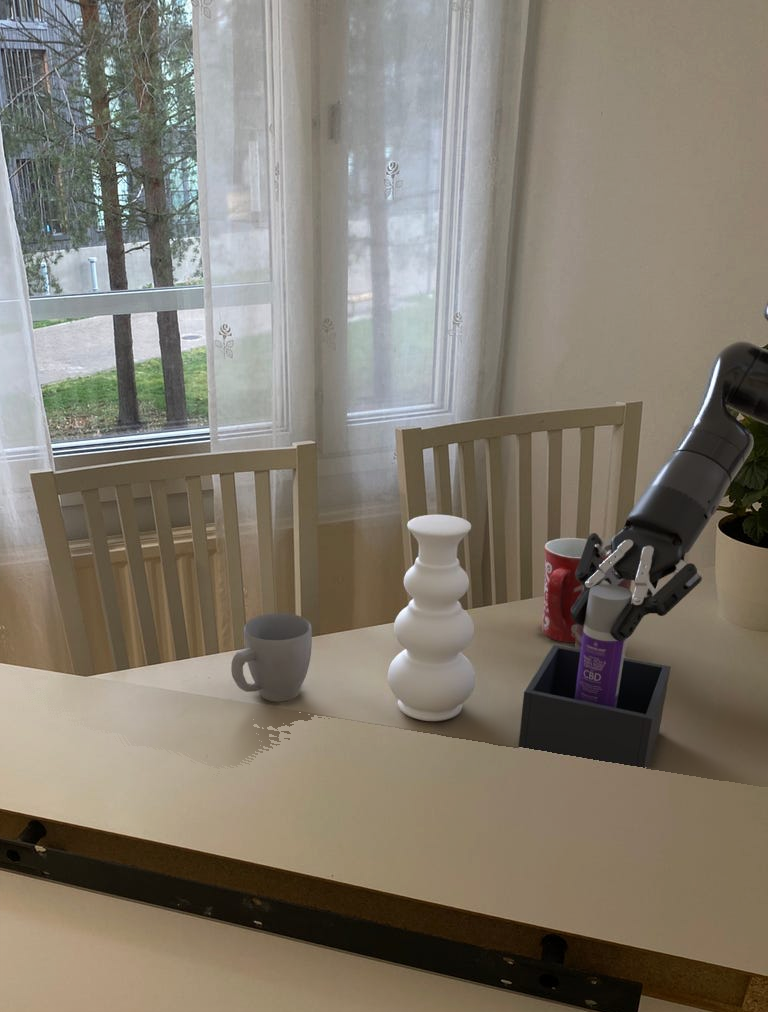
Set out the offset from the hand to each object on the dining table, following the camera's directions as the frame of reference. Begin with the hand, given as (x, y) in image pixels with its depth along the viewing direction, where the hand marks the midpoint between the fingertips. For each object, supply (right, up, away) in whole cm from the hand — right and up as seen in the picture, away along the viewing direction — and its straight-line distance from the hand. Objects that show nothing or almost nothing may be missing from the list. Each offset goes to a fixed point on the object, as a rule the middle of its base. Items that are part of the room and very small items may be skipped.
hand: (596, 628), depth 100 cm
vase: (-16, -10, +16) cm, 25 cm away
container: (+2, -10, +6) cm, 11 cm away
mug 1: (-36, -9, +20) cm, 43 cm away
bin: (+2, -14, +8) cm, 16 cm away
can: (+9, -4, +28) cm, 29 cm away
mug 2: (+7, -1, +35) cm, 36 cm away
